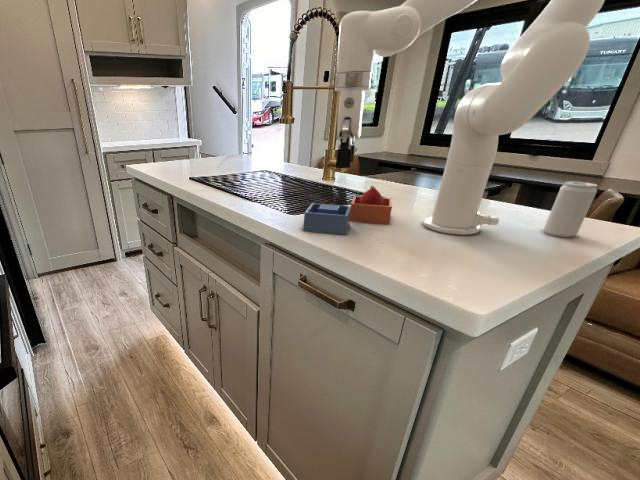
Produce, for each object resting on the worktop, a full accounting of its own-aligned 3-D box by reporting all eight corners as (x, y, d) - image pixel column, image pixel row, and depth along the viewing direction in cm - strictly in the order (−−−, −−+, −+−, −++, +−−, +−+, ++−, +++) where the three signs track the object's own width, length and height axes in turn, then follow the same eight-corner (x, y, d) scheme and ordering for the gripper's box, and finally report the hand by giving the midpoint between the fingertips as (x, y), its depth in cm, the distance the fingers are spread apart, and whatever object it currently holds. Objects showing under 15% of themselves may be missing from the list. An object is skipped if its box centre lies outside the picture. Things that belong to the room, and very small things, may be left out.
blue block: (336, 223, 93) (339, 205, 91) (334, 228, 89) (337, 210, 87) (319, 221, 95) (321, 204, 92) (316, 226, 91) (318, 208, 89)
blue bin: (348, 223, 95) (351, 206, 93) (344, 234, 87) (347, 216, 84) (310, 219, 98) (311, 203, 96) (303, 230, 90) (304, 212, 87)
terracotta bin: (388, 214, 103) (391, 198, 101) (388, 224, 94) (392, 206, 92) (351, 211, 106) (354, 195, 104) (348, 220, 97) (351, 203, 95)
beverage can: (570, 232, 88) (593, 181, 83) (579, 239, 83) (604, 186, 77) (539, 228, 91) (559, 179, 85) (546, 236, 86) (568, 184, 80)
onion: (376, 213, 102) (382, 184, 98) (381, 218, 97) (387, 188, 93) (356, 212, 103) (360, 183, 99) (359, 217, 98) (364, 187, 94)
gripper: (369, 79, 71) (358, 170, 79) (371, 83, 85) (362, 160, 93) (330, 82, 73) (324, 170, 81) (339, 85, 88) (333, 160, 96)
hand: (344, 164), depth 87 cm, fingers open, 9 cm apart
